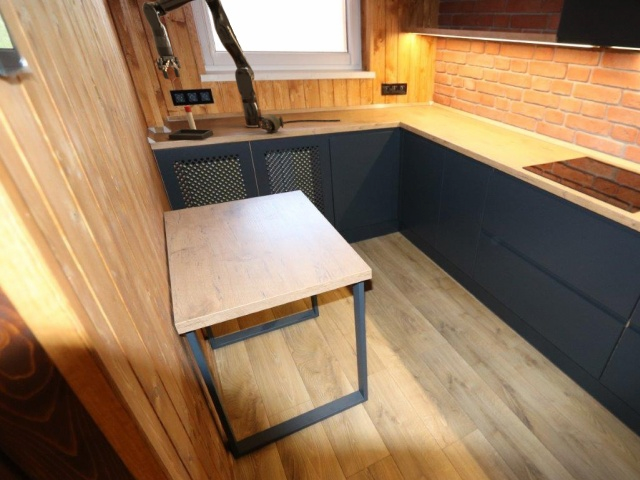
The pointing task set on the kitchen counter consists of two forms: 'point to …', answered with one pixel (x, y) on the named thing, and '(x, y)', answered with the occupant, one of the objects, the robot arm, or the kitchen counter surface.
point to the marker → (190, 117)
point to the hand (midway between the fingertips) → (172, 77)
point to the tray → (191, 134)
